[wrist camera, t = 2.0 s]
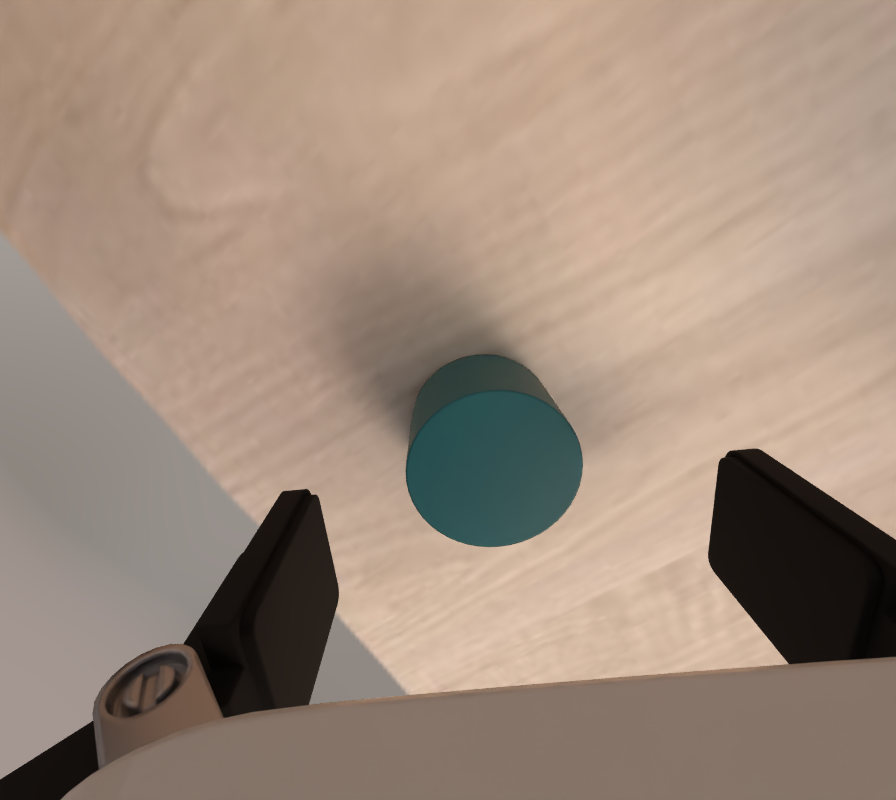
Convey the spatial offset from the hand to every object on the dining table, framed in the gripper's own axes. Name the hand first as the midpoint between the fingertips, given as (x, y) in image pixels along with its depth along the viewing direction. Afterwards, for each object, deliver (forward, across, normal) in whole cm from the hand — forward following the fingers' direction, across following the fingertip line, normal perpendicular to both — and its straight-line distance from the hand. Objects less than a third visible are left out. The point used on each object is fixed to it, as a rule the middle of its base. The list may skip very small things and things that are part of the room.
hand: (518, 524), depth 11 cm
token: (+6, 0, 0) cm, 6 cm away
